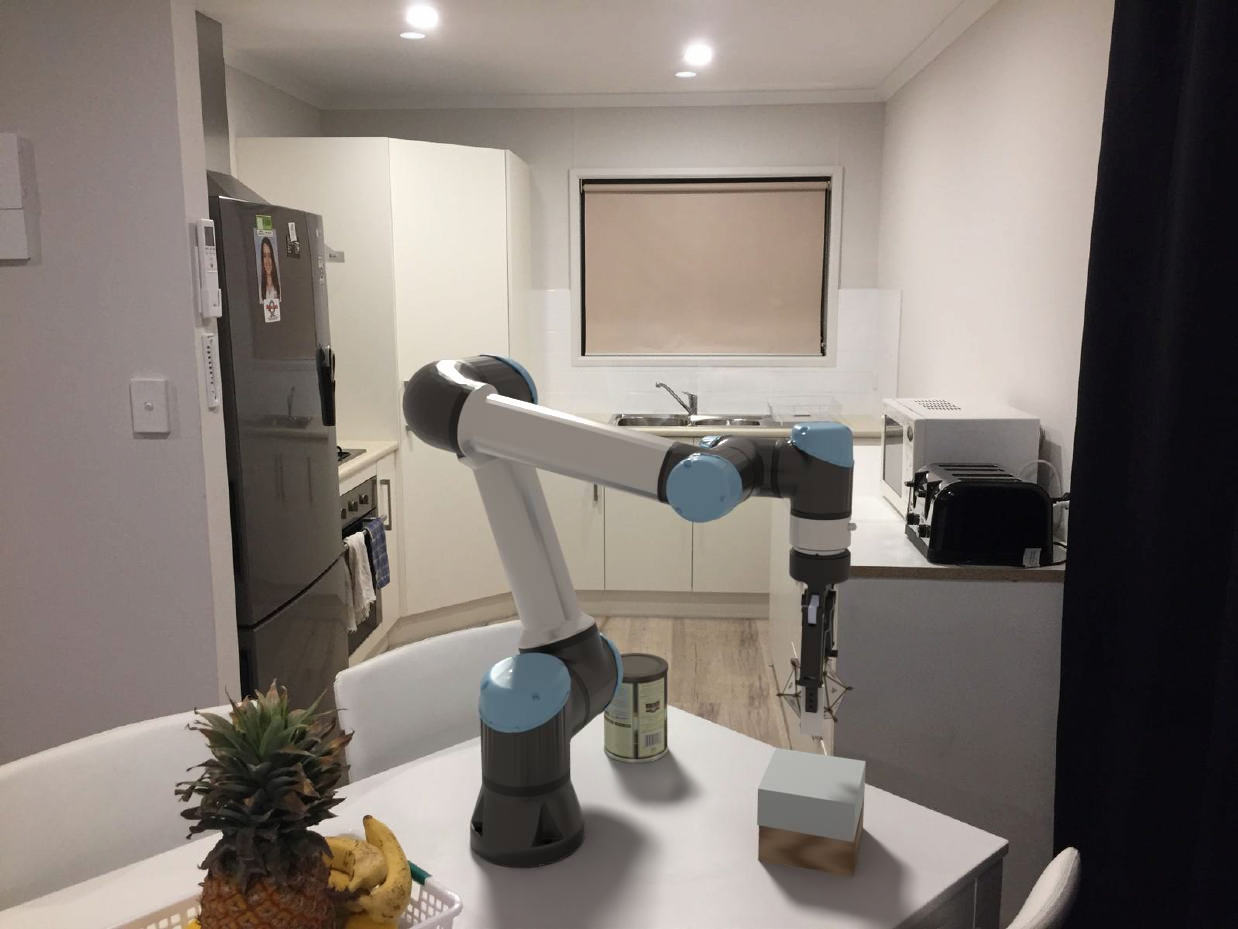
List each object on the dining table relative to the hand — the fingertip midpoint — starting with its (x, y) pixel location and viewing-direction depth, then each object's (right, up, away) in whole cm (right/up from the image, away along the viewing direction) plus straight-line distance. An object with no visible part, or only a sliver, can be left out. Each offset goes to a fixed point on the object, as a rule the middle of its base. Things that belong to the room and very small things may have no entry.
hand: (816, 719), depth 128 cm
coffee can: (-23, -13, +30) cm, 40 cm away
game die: (0, 0, 0) cm, 1 cm away
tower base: (0, -17, +3) cm, 17 cm away
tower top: (0, -12, +2) cm, 12 cm away
